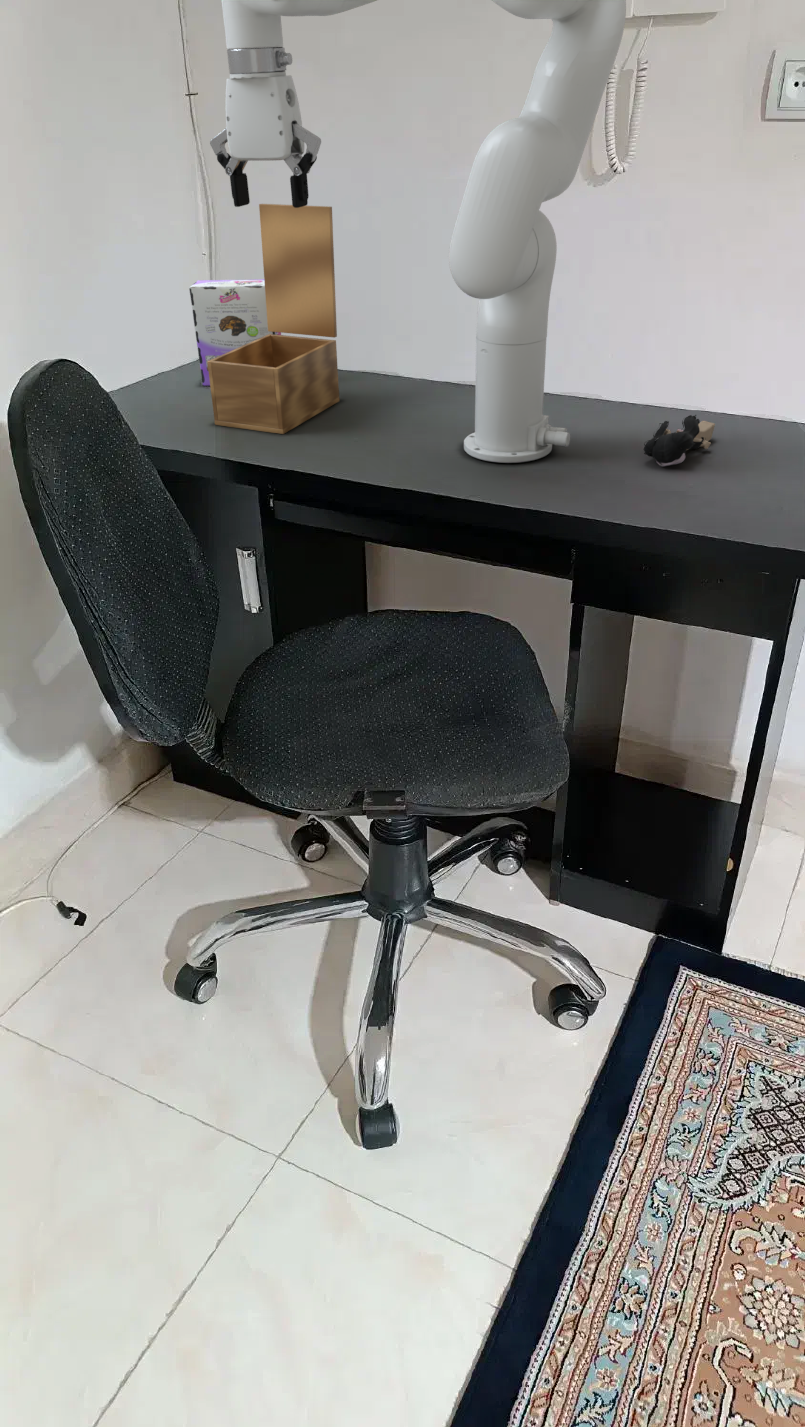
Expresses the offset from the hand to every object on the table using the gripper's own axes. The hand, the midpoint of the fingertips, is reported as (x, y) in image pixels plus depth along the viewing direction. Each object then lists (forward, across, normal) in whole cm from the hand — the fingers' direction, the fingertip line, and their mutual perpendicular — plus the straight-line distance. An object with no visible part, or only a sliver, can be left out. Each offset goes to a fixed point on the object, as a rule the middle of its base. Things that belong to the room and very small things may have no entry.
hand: (270, 206), depth 149 cm
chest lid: (+11, +2, -10) cm, 15 cm away
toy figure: (+32, -60, -5) cm, 68 cm away
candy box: (+30, +18, -14) cm, 38 cm away
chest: (+30, +3, -1) cm, 30 cm away
